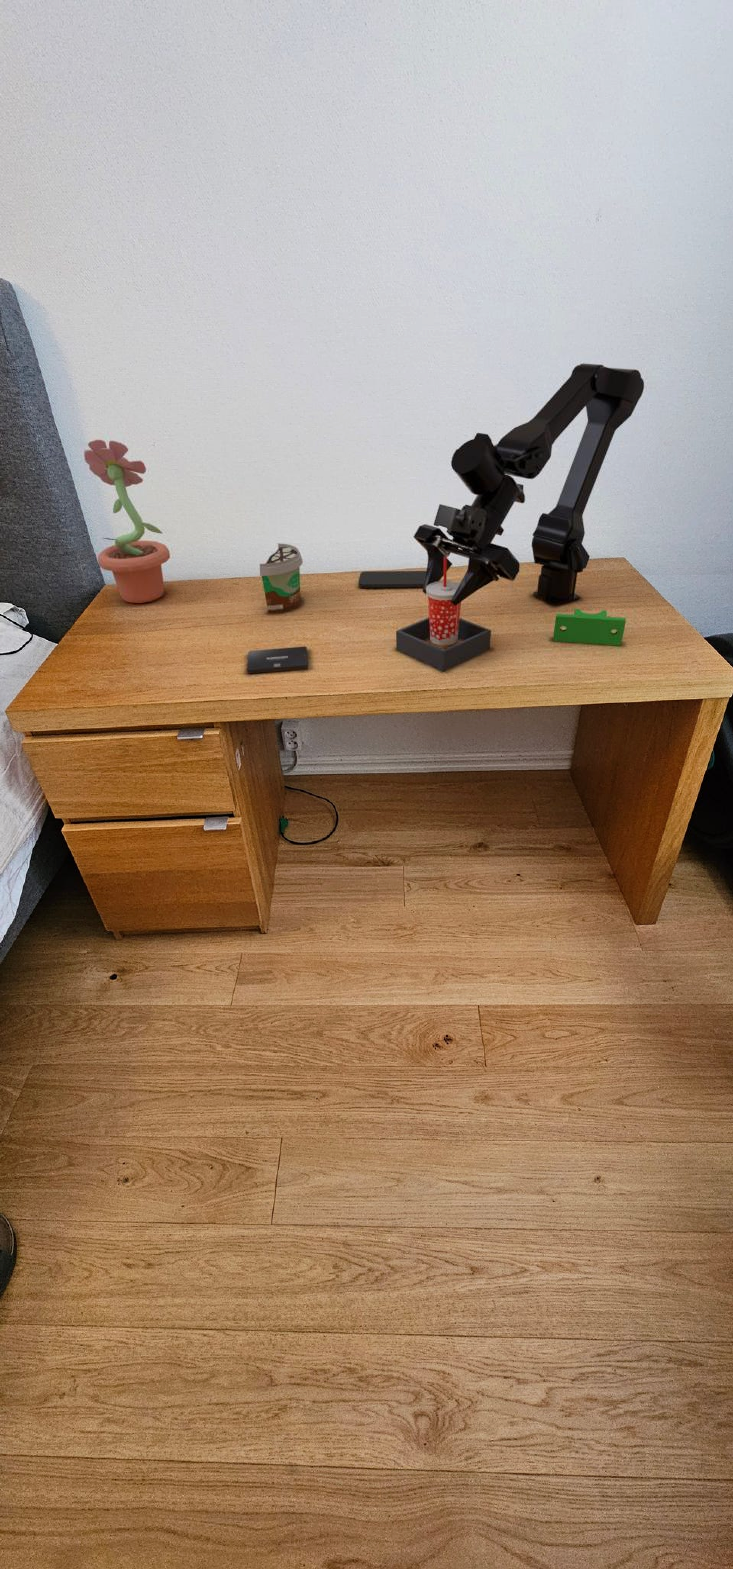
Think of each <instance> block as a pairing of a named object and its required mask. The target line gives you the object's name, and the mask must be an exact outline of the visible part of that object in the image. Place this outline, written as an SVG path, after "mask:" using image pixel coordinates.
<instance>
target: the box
mask: <svg viewBox="0 0 733 1569" xmlns="http://www.w3.org/2000/svg"><path fill="white" fill-rule="evenodd" d="M395 633H396V634H395V642H396V643H395V644H396V646H395V647H396V651H398V652H400V653H402V654H404V655H407V656H409V657H411V658H413V659H415V660H418V661H420V662H422V663H424V664H426V665H428V666H431V667H433V668H435V669H437V670H439V671H441V672H446V671H447V670H450V669H452V668H454V667H456V666H458V665H460V664H462V663H464V662H466V661H468V660H471V659H473V658H474V657H476V656H479V655H481V654H483V653H485V652H487V651H489V650H491V638H492V630H491V629H489V628H487V627H484V626H482V625H478V624H476V623H474V622H471V621H469V620H466V619H464V618H461V617H460V620H459V630H458V639H459V640H462V641H459V642H458V643H457V642H456V643H454V644H452V645H450V646H449V647H446V648H444V649H443V648H441V647H438V646H437V645H435V644H431V643H429V642H428V641H425V640H426V639H430V626H429V616H428V617H426V618H424V619H421V620H419V621H416V622H413V623H411V624H409V625H407V626H405V627H401V628H400V629H397V630H396V631H395Z"/></svg>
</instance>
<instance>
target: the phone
mask: <svg viewBox="0 0 733 1569" xmlns="http://www.w3.org/2000/svg"><path fill="white" fill-rule="evenodd" d="M426 571H427V570H383V571H382V570H381V571H379V570H376V571H375V570H374V571H373V570H372V571H369V570H368V571H362V572H360V574H359V578H358V587H359V588H363V589H365V588H367V589H369V588H370V589H371V588H373V589H375V588H423V586H424V581H425V576H426Z"/></svg>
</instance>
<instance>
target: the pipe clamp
mask: <svg viewBox="0 0 733 1569" xmlns="http://www.w3.org/2000/svg"><path fill="white" fill-rule="evenodd" d="M626 622H627V618H626V617H619V616H618V617H616V616H608V610H607V609H602V610H601V611H600V612H598V613H588V612H587V613H586V612H583V611H582V610H580V608H574V611H573V614H568V613H567V614H566V613H555V620H554V628H553V636H552V642H562V643H577V644H578V643H579V644H591V645H607V646H622V643H623V638H624V633H625V627H626ZM562 627H565V629H562ZM612 631H615V632H612Z"/></svg>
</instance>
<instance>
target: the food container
mask: <svg viewBox="0 0 733 1569" xmlns="http://www.w3.org/2000/svg"><path fill="white" fill-rule="evenodd" d="M277 548H278V549H277V550H276V551H275V552H274V553H272V554H271V555H270V556H269V557H268V559H267V560H266V562H265V563H259V576H261V581H262V586H263V591H264V597H265V603H266V608H267V613H268V614H280V613H286V612H290V611H293V610H295V609H297V608H298V607H300V605H301V600H302V599H301V598H302V597H301V569H300V568H301V566H302V565H303V563H304V560H303V556H302V555H301V552H300V551H299V549H298V547H296V546H294V545H292V544H288V543H277Z"/></svg>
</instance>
